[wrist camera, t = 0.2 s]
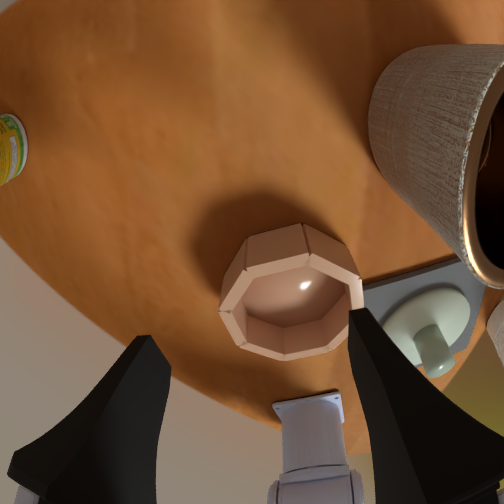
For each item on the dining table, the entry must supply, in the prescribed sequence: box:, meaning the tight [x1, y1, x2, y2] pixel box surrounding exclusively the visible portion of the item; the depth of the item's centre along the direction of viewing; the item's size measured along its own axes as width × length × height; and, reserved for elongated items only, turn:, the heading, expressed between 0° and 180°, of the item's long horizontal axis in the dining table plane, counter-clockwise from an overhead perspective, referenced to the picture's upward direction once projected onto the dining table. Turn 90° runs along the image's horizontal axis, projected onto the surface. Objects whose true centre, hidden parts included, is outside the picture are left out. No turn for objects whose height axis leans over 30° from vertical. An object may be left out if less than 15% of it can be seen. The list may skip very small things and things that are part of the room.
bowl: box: [218, 223, 364, 361], centre depth 20 cm, size 9×9×4 cm
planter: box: [368, 44, 504, 289], centre depth 10 cm, size 11×11×10 cm
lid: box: [381, 287, 470, 378], centre depth 21 cm, size 10×10×5 cm
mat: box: [362, 257, 486, 368], centre depth 23 cm, size 14×14×1 cm
